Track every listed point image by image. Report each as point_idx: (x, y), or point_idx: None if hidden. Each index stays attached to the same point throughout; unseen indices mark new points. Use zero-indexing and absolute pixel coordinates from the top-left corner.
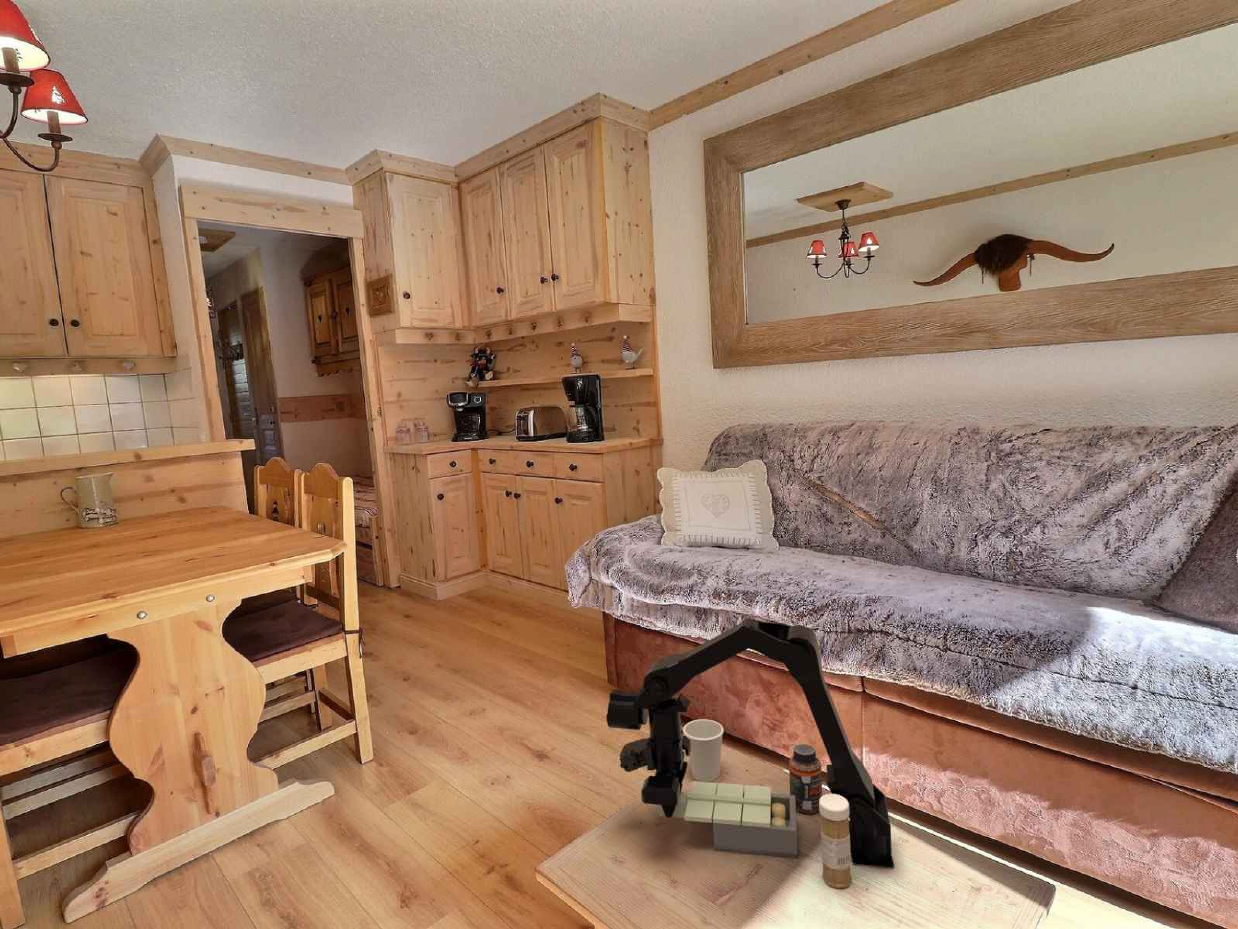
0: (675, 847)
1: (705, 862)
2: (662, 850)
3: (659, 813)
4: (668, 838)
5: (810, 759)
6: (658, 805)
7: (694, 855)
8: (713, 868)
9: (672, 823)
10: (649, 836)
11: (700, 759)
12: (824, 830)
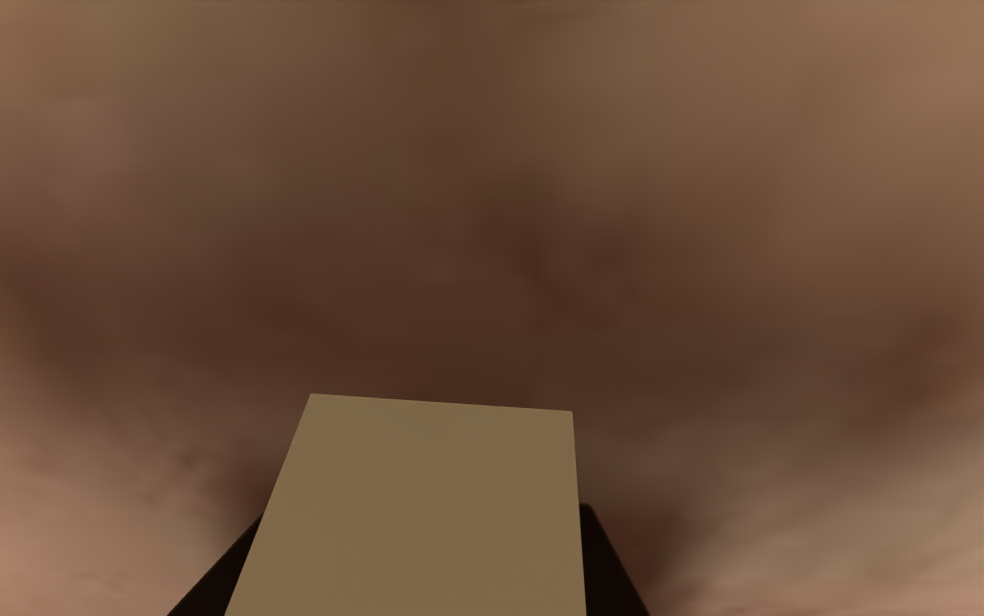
0: (178, 404)
1: (106, 571)
2: (84, 306)
3: (303, 438)
4: (284, 344)
5: None
6: (247, 560)
7: (145, 520)
8: (74, 602)
9: (535, 363)
10: (254, 148)
11: None
12: None
